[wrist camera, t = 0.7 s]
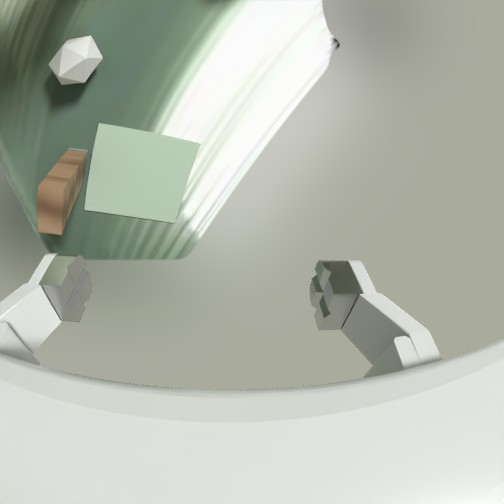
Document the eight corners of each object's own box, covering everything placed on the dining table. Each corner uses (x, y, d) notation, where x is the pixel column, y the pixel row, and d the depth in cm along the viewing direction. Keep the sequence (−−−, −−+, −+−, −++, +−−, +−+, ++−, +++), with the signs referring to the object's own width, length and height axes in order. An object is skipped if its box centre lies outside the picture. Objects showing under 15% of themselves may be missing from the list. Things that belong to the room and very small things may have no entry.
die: (64, 40, 28) (31, 69, 24) (99, 20, 26) (65, 47, 22) (82, 70, 35) (55, 102, 31) (117, 56, 33) (89, 86, 30)
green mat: (99, 123, 40) (98, 123, 40) (199, 143, 50) (200, 144, 50) (84, 209, 49) (84, 209, 48) (174, 222, 58) (174, 223, 58)
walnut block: (69, 147, 40) (38, 187, 27) (88, 150, 42) (63, 190, 29) (65, 181, 44) (37, 231, 30) (83, 184, 46) (61, 234, 32)
